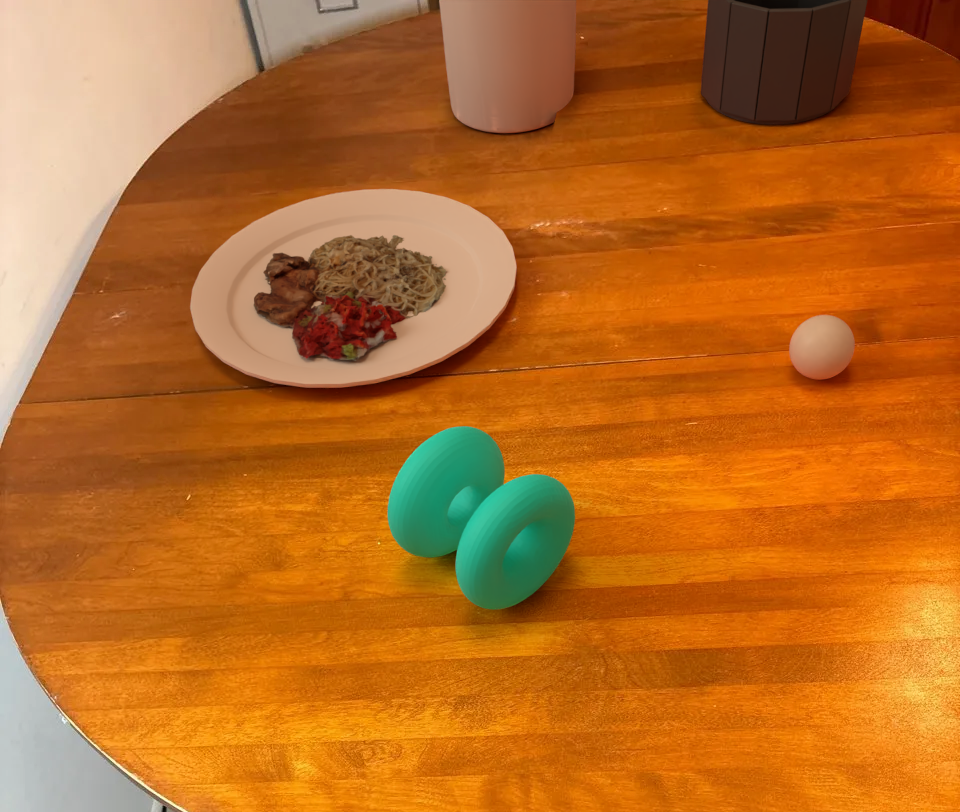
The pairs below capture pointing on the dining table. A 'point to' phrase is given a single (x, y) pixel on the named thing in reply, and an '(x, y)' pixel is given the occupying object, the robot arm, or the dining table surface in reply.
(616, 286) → the dining table surface
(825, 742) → the dining table surface
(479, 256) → the plated food
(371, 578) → the dining table surface
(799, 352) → the pale pink ball
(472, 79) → the utensil holder
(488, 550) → the teal spool
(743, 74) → the bin
